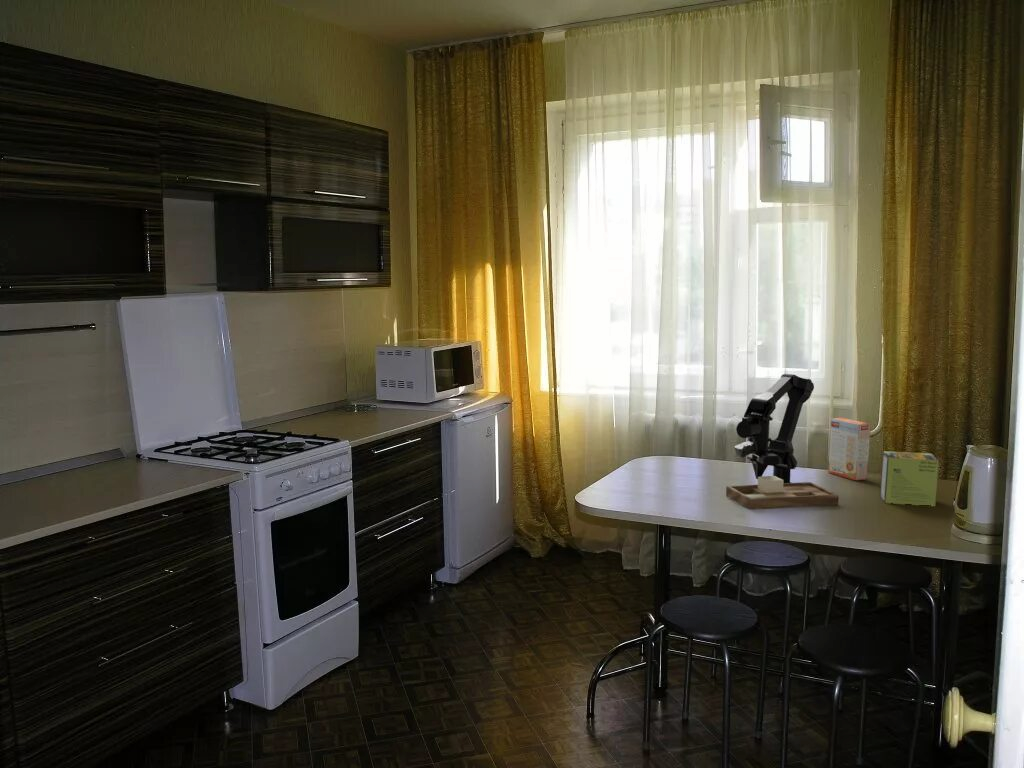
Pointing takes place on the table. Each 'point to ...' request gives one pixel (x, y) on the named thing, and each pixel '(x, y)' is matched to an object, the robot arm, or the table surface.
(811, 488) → the tray
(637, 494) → the table surface
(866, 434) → the cracker box
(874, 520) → the table surface
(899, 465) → the protein box
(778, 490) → the cream block
